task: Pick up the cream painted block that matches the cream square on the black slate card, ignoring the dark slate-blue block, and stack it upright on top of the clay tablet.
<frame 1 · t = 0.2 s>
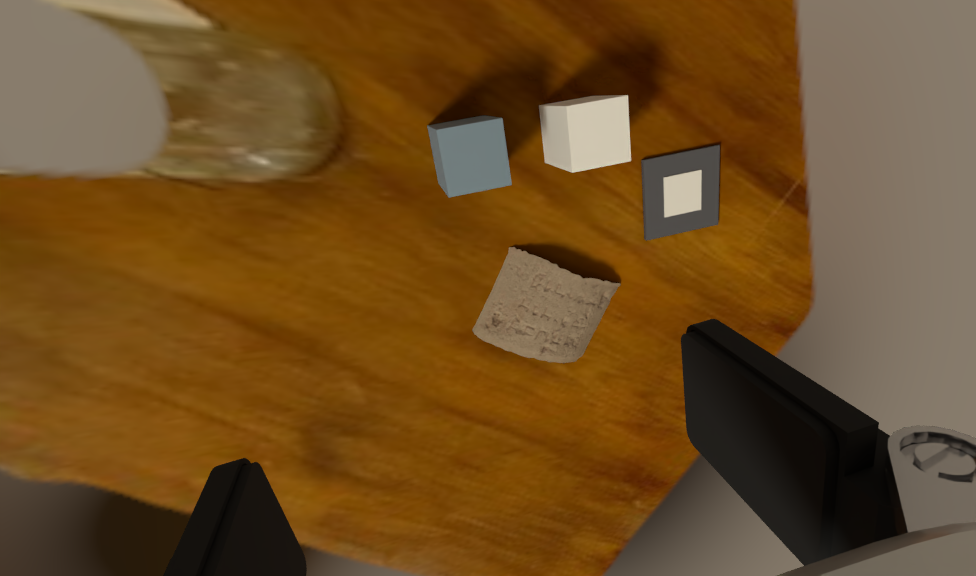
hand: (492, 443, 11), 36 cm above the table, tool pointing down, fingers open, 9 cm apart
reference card: (680, 193, 50), on the table
slate-blue block: (460, 149, 44), on the table
cream block: (568, 129, 45), on the table
clay tablet: (544, 304, 52), on the table
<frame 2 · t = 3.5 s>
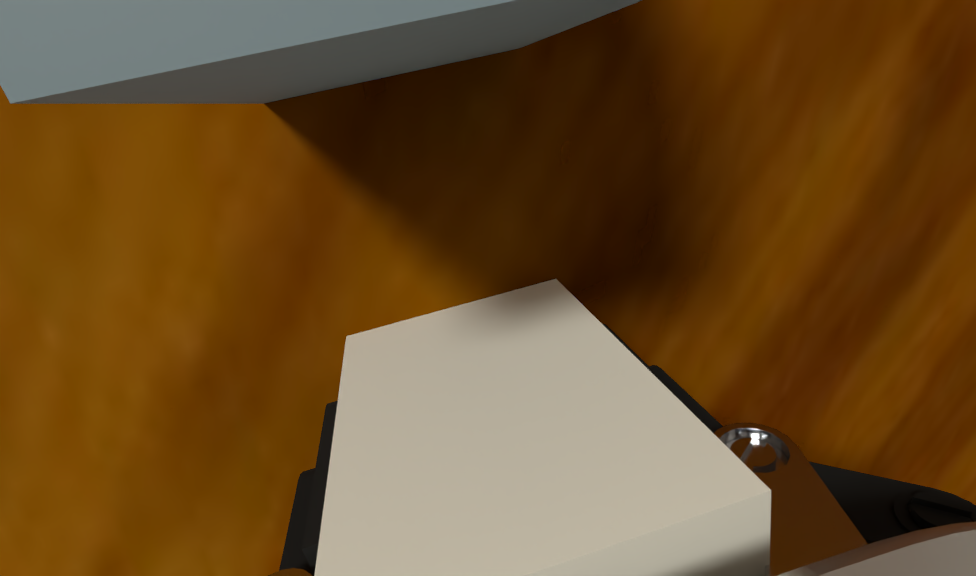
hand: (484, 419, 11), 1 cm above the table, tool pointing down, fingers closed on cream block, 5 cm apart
cream block: (476, 395, 12), on the table, touching gripper
when the fingers open (6 cm above the table, at t = 9.0 s): cream block drops 3 cm, resting on clay tablet.
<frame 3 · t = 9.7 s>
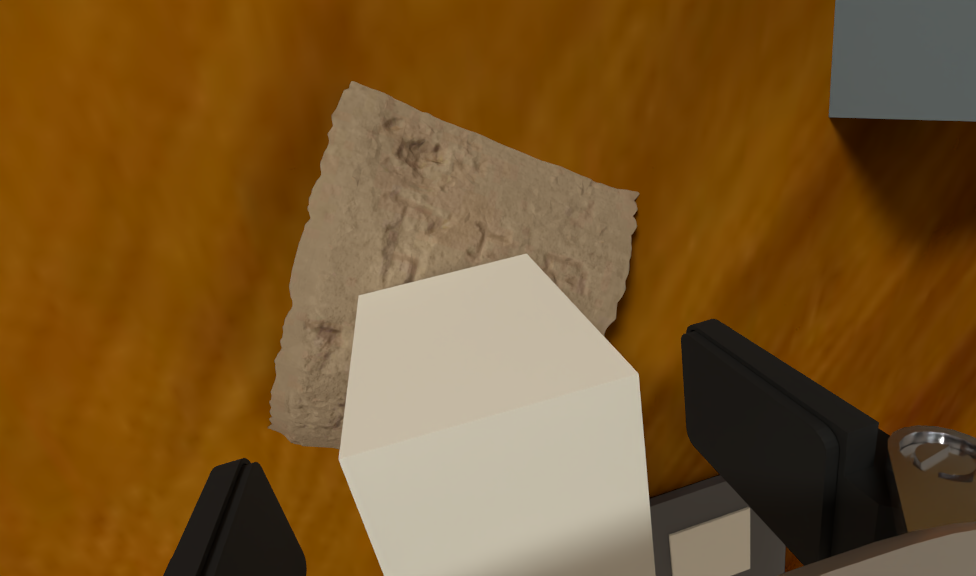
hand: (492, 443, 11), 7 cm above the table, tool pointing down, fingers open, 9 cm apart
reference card: (705, 544, 24), on the table
slate-blue block: (898, 23, 17), on the table
cream block: (462, 348, 15), point 2 cm above the table, touching clay tablet
clay tablet: (445, 306, 18), on the table, touching cream block
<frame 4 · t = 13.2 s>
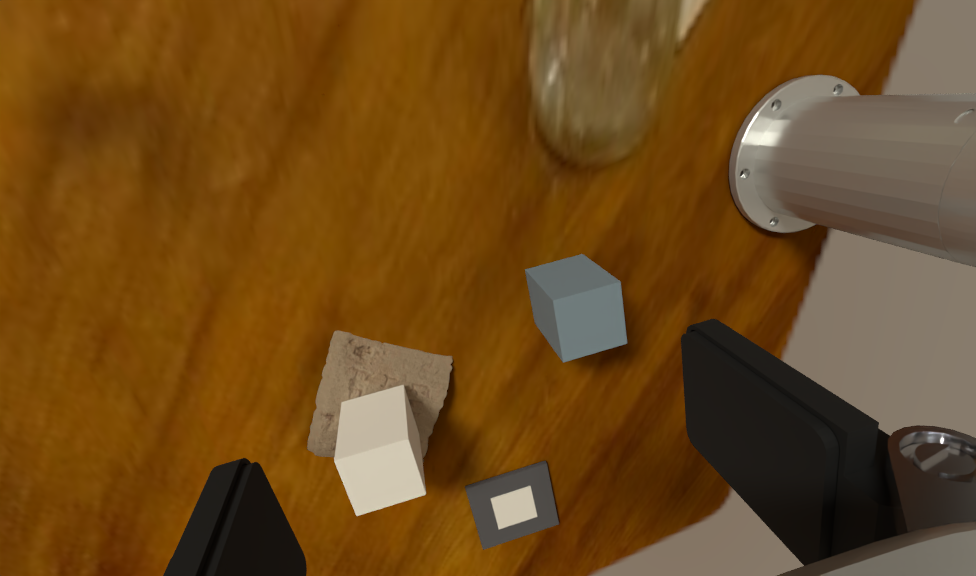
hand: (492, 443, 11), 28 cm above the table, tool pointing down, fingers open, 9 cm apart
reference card: (513, 504, 49), on the table
slate-blue block: (558, 289, 42), on the table
cream block: (381, 418, 40), point 2 cm above the table, touching clay tablet
clay tablet: (378, 398, 43), on the table, touching cream block
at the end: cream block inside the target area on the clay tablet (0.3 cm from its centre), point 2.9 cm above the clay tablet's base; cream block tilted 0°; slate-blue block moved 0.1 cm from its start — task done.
